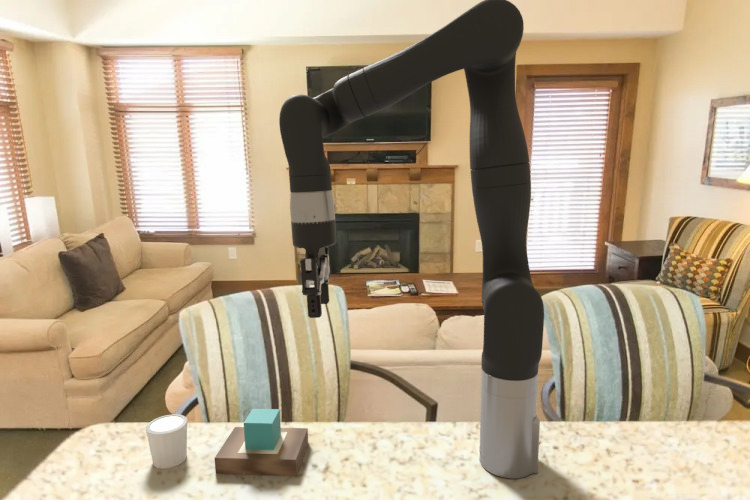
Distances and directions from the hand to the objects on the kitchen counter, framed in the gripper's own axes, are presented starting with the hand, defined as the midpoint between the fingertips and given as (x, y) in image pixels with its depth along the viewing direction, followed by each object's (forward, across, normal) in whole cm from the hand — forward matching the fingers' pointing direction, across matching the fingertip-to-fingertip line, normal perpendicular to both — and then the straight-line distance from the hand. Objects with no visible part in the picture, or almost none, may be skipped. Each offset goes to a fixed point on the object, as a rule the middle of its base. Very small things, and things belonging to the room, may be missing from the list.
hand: (319, 310), depth 85 cm
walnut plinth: (+26, -3, +11) cm, 29 cm away
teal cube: (+23, -3, +11) cm, 26 cm away
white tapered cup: (+26, -4, +28) cm, 39 cm away
